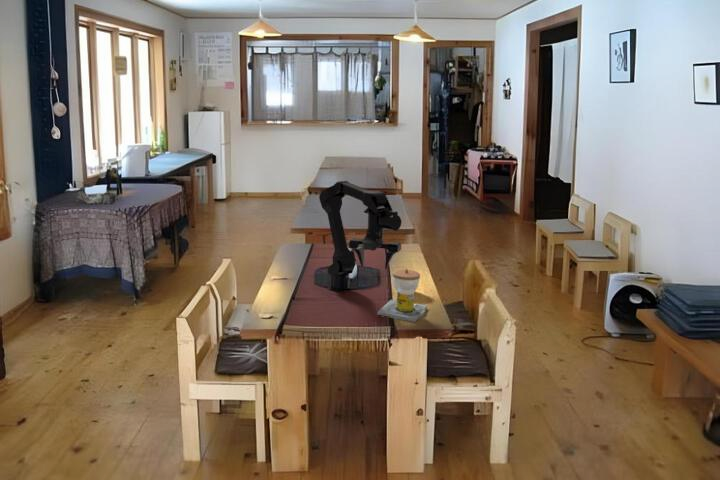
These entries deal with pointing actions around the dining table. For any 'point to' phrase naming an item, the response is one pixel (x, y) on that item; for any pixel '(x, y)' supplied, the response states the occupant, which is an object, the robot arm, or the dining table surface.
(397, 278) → the lidded jar
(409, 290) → the pill bottle
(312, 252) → the dining table surface
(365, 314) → the dining table surface
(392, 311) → the socket board
